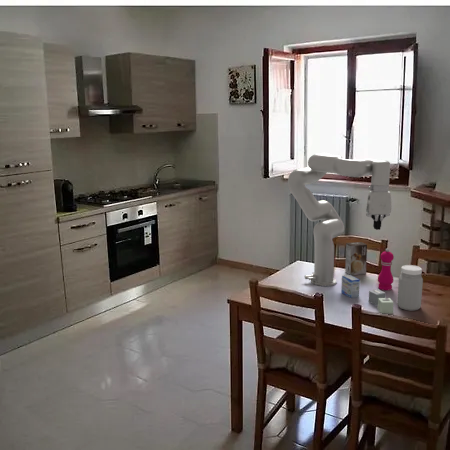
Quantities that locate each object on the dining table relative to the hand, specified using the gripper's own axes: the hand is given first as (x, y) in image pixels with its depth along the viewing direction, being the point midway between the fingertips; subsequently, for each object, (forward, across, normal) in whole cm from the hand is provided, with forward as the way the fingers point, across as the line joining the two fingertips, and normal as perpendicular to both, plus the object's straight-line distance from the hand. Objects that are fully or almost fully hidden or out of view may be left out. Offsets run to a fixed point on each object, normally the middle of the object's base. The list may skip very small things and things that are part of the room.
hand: (377, 228), depth 224 cm
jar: (+32, +9, -16) cm, 37 cm away
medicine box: (+32, -10, +3) cm, 34 cm away
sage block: (+32, -3, -18) cm, 37 cm away
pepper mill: (+32, +10, +8) cm, 35 cm away
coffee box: (+32, +6, +33) cm, 47 cm away
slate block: (+32, -2, -8) cm, 33 cm away
